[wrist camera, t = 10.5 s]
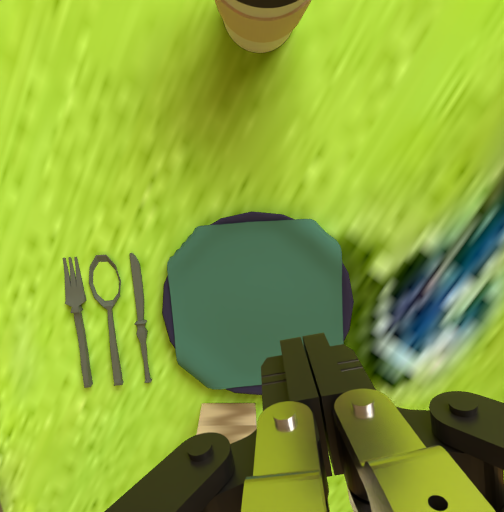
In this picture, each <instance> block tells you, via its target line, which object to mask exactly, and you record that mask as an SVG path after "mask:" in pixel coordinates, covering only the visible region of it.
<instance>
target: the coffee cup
mask: <svg viewBox="0 0 504 512" xmlns="http://www.w3.org/2000/svg"><path fill="white" fill-rule="evenodd" d="M215 2H216V5H217V8H218V11H219V13H220V15H221V17H222V19H223V22H224V25H225V28H226V30H227V32H228V34H229V35H230V37H231V38H232V39H233V41H234V42H235V43H236V44H238V45H239V46H240V47H242V48H244V49H245V50H248V51H251V52H255V53H265V52H269V51H272V50H275V49H276V48H278V47H280V46H281V45H282V44H283V43H284V42H285V41H286V40H287V39H288V37H289V36H290V34H291V32H292V30H293V29H294V28H295V27H296V26H297V24H298V23H299V21H300V20H301V18H302V16H303V14H304V12H305V11H306V9H307V7H308V5H309V4H310V2H311V0H215Z"/></svg>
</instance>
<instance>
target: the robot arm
mask: <svg viewBox="0 0 504 512" xmlns="http://www.w3.org/2000/svg"><path fill="white" fill-rule="evenodd" d="M302 338H303V343H302V339H301V337H296V338H291V339H285V340H280V346H281V352H282V355H279V356H274V357H268V358H266V360H265V361H264V363H263V364H262V366H261V377H262V378H261V381H262V401H263V412H262V413H261V414H260V416H259V418H258V424H257V429H256V430H255V431H254V432H253V433H251V434H250V435H248V436H247V437H245V438H243V439H241V440H238V441H236V442H234V443H231V444H230V442H229V440H228V439H227V438H226V437H225V436H224V435H222V434H219V433H214V432H207V433H202V434H198V435H195V436H193V437H191V438H189V439H187V440H186V441H184V442H183V443H182V444H181V445H180V446H178V447H177V448H176V449H175V450H174V451H173V452H172V453H171V454H169V455H168V456H167V457H166V458H165V459H164V460H163V461H161V462H160V463H159V464H158V465H157V466H156V467H155V468H153V469H152V470H151V471H150V472H149V473H148V474H147V475H146V476H144V477H143V478H142V479H141V480H140V481H139V482H138V483H136V484H135V485H134V486H133V487H132V488H131V489H130V490H128V491H127V492H126V493H125V494H124V495H123V496H122V497H121V498H119V499H118V500H117V501H116V502H115V503H114V504H113V505H111V506H110V507H109V508H108V509H107V510H106V511H105V512H330V509H329V503H328V494H329V488H328V482H327V477H329V476H332V471H331V465H330V460H331V463H332V467H333V470H334V474H335V475H340V474H344V476H345V479H346V482H347V488H348V494H349V500H350V503H351V506H352V509H353V511H354V512H504V480H503V470H504V403H502V402H499V401H496V400H492V399H489V398H486V397H483V396H480V395H477V394H473V393H469V392H461V391H452V392H446V393H442V394H439V395H437V396H436V397H434V398H433V399H432V400H431V402H430V407H429V408H430V411H426V410H408V409H402V408H398V407H395V405H394V404H393V403H392V401H391V400H390V399H389V398H388V397H387V396H386V395H385V394H383V393H381V392H379V391H376V389H375V388H374V386H373V384H372V382H371V381H370V379H369V377H368V375H367V374H366V372H365V370H364V368H363V367H362V365H361V363H360V361H359V360H358V358H357V356H356V354H355V352H354V351H353V350H352V349H350V348H349V347H347V346H345V345H343V344H341V345H335V346H330V345H329V343H328V341H327V338H326V336H325V334H324V333H318V334H313V335H307V336H302ZM303 345H304V346H303ZM328 452H329V454H328ZM329 456H330V460H329Z"/></svg>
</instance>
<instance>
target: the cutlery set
mask: <svg viewBox="0 0 504 512" xmlns="http://www.w3.org/2000/svg"><path fill="white" fill-rule="evenodd" d="M74 258H75V266H76V277H75V272H74V268H73V263H72V259H71V257H69V264H70V276H69V272H68V267H67V263H66V258H63V263H64V272H65V294H66V302H65V304H67V305H69V306H71V307H72V309H71V313H74V319H75V324H76V329H77V334H78V341H79V348H80V356H81V367H82V374H83V381H84V388H86V387H91V386H92V384H93V382H92V376H91V370H90V363H89V354H88V348H87V341H86V335H85V328H84V324H83V319H82V313H81V311H82V310H83V309H82V306H81V304H82V303H84V302H85V301H86V296H85V292H84V287H83V282H82V278H81V273H80V269H79V264H78V259H77V257H74ZM130 260H131V268H132V276H133V284H134V293H135V301H136V309H137V317H138V321H136V323H135V325H137V327H138V330H137V336H138V339H139V341H140V343H141V350H142V356H143V360H144V368H145V379H146V380H145V383H148V382H151V381H152V379H150V373H149V367H148V361H147V348H146V338H147V329H146V328H145V323H146V322H147V320H144V294H143V284H142V276H141V269H140V264H139V261H138V259H137V258H136V256H135V255H134V254H133V253H130ZM106 261H108V262H109V263H110V264H111V266H112V267H113V268H114V269H115V270H116V272H117V275H118V278H119V281H120V282H119V292H118V294H117V295H116V297H115V298H114V300H111V301H104V300H103V299H102V298H101V297H100V296H99V295H98V294H97V292H96V290H95V287H94V285H93V271H94V269H95V267H96V266H97V264H98V262H106ZM167 271H168V276H167V278H166V281H165V283H164V292H163V311H162V314H163V318H164V321H165V325H166V328H167V332H168V335H169V339H170V342H171V343H172V345H173V346H174V348H175V349H176V357H177V361H178V364H179V365H180V366H181V367H182V368H184V369H185V370H186V371H187V372H189V373H190V374H191V375H193V376H194V377H195V378H196V379H198V380H199V381H200V382H201V383H203V384H204V385H205V386H206V387H208V388H211V389H226V390H229V391H232V392H234V393H244V394H256V395H262V381H261V378H262V377H261V366H262V364H263V363H264V361H265V360H266V358H268V357H274V356H279V355H282V352H281V346H280V340H285V339H291V338H296V337H301V339H302V343H303V338H302V336H307V335H313V334H318V333H324V334H325V336H326V338H327V341H328V343H329V345H330V346H335V345H341V344H343V342H344V340H345V338H346V336H347V334H348V332H349V329H350V322H351V316H352V309H353V302H354V301H353V296H352V290H351V285H350V279H349V274H348V272H347V270H346V268H345V266H344V264H343V263H342V252H341V248H340V245H339V243H338V242H337V241H336V240H335V239H334V238H333V237H331V236H330V235H329V234H327V233H326V232H325V231H324V230H323V229H322V228H321V227H320V226H319V225H318V224H317V222H316V221H314V220H312V219H297V220H294V219H292V218H290V217H287V216H285V215H282V214H272V213H261V212H248V213H243V214H239V215H234V216H230V217H226V218H221V219H219V220H218V221H216V222H214V223H213V224H211V225H206V226H199V227H197V228H195V230H194V232H193V234H191V235H190V236H189V237H188V239H187V241H186V242H184V243H183V244H182V246H181V248H180V249H178V250H177V251H176V252H175V254H174V256H172V257H170V259H169V261H168V264H167ZM70 277H71V281H70ZM89 284H90V287H91V290H92V293H93V296H94V298H95V299H96V300H97V301H98V302H99V303H100V304H101V305H102V306H103V307H104V308H106V309H107V310H108V324H109V335H110V348H111V358H112V368H113V378H114V386H115V385H122V384H123V379H122V372H121V367H120V361H119V355H118V349H117V343H116V335H115V328H114V321H113V313H112V308H113V306H114V304H115V303H116V301H117V300H118V298H119V296H120V285H121V280H120V277H119V274H118V271H117V268H116V265H115V264H114V263H113V262H112V261H111V260H110V259H109V257H108V256H107V255H96V256H95V258H94V260H93V262H92V264H91V266H90V271H89ZM303 346H304V345H303Z"/></svg>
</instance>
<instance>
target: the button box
mask: <svg viewBox="0 0 504 512" xmlns="http://www.w3.org/2000/svg"><path fill="white" fill-rule="evenodd" d="M256 429H257V427H256V409H255V403H202V407H201V412H200V418H199V423H198V429H197V434H196V435H198V434H202V433H207V432H214V433H219V434H222V435H224V436H225V437H226V438H227V439H228V440H229V442H230V444H231V443H234V442H236V441H238V440H241V439H243V438H245V437H247V436H248V435H250V434H251V433H253V432H254V431H255V430H256Z"/></svg>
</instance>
